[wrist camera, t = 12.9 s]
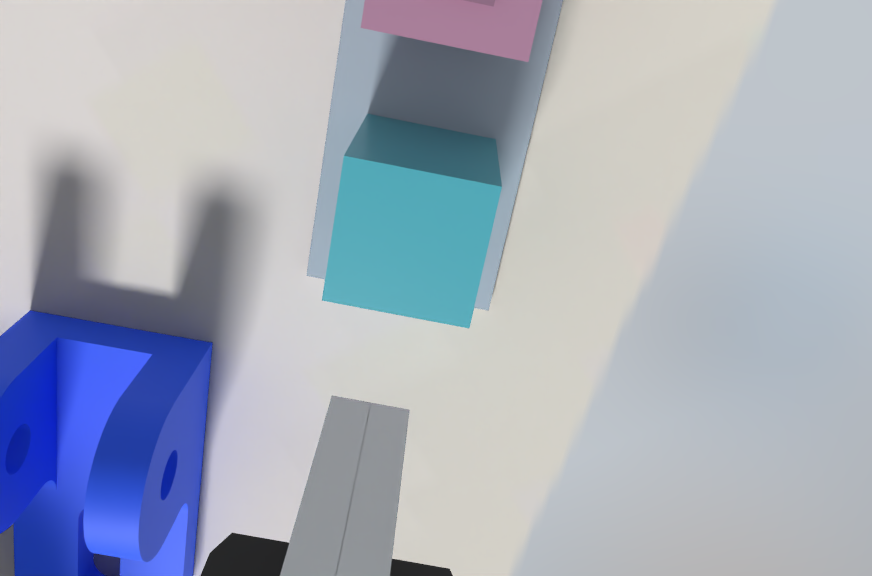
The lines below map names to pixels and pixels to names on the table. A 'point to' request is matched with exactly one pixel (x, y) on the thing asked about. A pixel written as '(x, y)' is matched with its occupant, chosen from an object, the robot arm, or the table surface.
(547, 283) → the table surface
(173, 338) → the bracket
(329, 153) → the marker stand
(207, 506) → the table surface
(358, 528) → the robot arm
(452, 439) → the table surface
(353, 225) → the teal block
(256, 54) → the table surface
